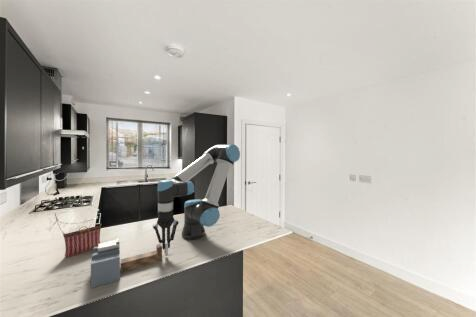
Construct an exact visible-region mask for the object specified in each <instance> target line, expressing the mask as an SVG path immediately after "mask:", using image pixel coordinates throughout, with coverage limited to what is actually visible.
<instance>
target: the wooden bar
mask: <svg viewBox="0 0 476 317" xmlns="http://www.w3.org/2000/svg"><path fill="white" fill-rule="evenodd" d="M155 246H156V247H155V248H156V250H153V251H148V252H144V253H141V254H136V255H133V256H129V257H125V258H121V259H120V273H122V272H126V271H130V270H134V269H136V268H140V267H144V266H147V265H150V264H154V263H158V262H162V261H163V248H162V243H158V244H156V245H155Z"/></svg>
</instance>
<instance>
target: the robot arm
mask: <svg viewBox="0 0 476 317" xmlns="http://www.w3.org/2000/svg"><path fill="white" fill-rule="evenodd" d="M240 157H241V151H240V148H239V147H238V146H237V145H236V144H234V143H221V144H220V143H219V144H215V145H213V146H211V147H210V148H208V149H207V150H206V151H204V152H203V154H202V156H200V157H199V158H197V159H196V160H195V161H193V162H192V163H190V164H189V165H188V166H187V167H185V168H183V169H182V170H181V171H179V172H178V173H176V175H174V176H173V177H171V178H167V179H162V180H159V181H158V182H157V189H156V190H157V221H156V223H155V224H152V228H153V230H154V231H155V233H156V234H155V235H156V237H157V241H158V244H161V246H162V251H163V250H164V255H165V256H169V249H170V247H171V242H173V241H174V239H175V237H176V236H175V235H176V231H177V226H178V225H179V221H178V220H176V219H175V218H174V198H177V197H179V198H180V197H183V196H184V197H185V196H188V195H192V194H194V192H195V185H194V183H193V182H192V181H191V179H192V178H194V177H195V176H196V175H197V174H199V173H200V172H201V171H203V170H204V169H205V168H207V167H208V166H209V165H212V164H214V163H216V167H215V170H214V173H213V175H212V178H211V180H210V184H209V185H208V188H207V192H206V194H205V197H204V198H202V199H199V198H198V199H196V198H195V199H189V200H186V201H185V202H184V205H183V206H184V207H183V209H184V210H183V213H184V215H183V217H184V220H183V221H184V223H183V227H182V231H181V237H182V239H185V240H192V241H193V240H198V239H201V238H203V237H204V236H205V235H206V230H205V227H207V228H208V227H213V226H214V225H216V224H217V223H218V221H219V219H220V215H221V213H220V210H219V207H220V205H219V200H220V197H221V194H222V191H223V188H224V186H225V182H226V179H227V178H228V174H229V171H230V168H232V167H233V166H234V164H235V163H236V162H237V161H240V160H239V159H240ZM159 227H160V229H161V234H160V231H159V229H158V228H159ZM171 227H172V229H171Z"/></svg>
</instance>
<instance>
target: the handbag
mask: <svg viewBox="0 0 476 317" xmlns="http://www.w3.org/2000/svg"><path fill="white" fill-rule="evenodd" d="M54 217H55V220H56V221H55V222H53V224H52V225H53V226H54V225H55V224H56V223H57V225H58V227H59V229H61V227H60V224H59V223H62V224H63V222H62V221H59V219H58V217H57V215H56V213H54ZM96 219H97V217H95V218H93V219H90V220H86V221H85V223H86V222H90V221H92V220H96ZM98 219H99V220H101V219H100V218H99V217H98ZM81 223H83V222H82V221H81V222H80V224H81ZM64 224H66V225H69V224H71V225H72V224H73V225H74V224H77V222H73V223H65V222H64ZM101 228H102V223H100V224H99V225H96V226H91V227H87V226H86V225H85V226H81V227H80V228H79V229H78V230H76V231H72V232H68V233H67V232H63V231H61V233H62V236H63V239H64V245H65V252H64V257H65V258H66V259H67V258H70V257H73V256H76V255H79V254H82V253H85V252H88V251H91V250H94V248H95V247H98V245H99V243H101Z"/></svg>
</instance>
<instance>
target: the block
mask: <svg viewBox="0 0 476 317" xmlns="http://www.w3.org/2000/svg"><path fill="white" fill-rule="evenodd" d="M119 246H120V244H119ZM120 250H121V249H116V250H111V251H107V252H102V253H98V247H95V248H94V249H93V253H92V254H91V262H90V288H91V289H93V288H96V287H100V286H102V285H103V286H104V285H107V284H109V283H113V282H116V281H120V280H121V259H120V258H121V256H120Z"/></svg>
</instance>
